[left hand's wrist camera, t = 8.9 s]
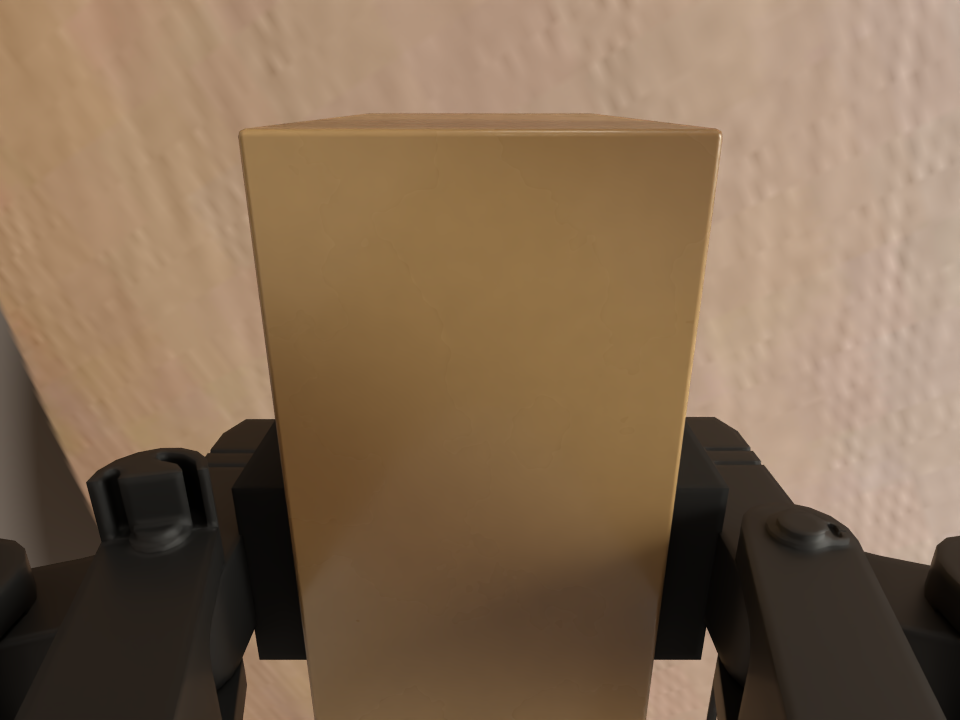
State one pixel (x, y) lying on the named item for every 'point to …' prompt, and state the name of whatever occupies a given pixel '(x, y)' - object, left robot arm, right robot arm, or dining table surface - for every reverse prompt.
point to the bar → (480, 399)
